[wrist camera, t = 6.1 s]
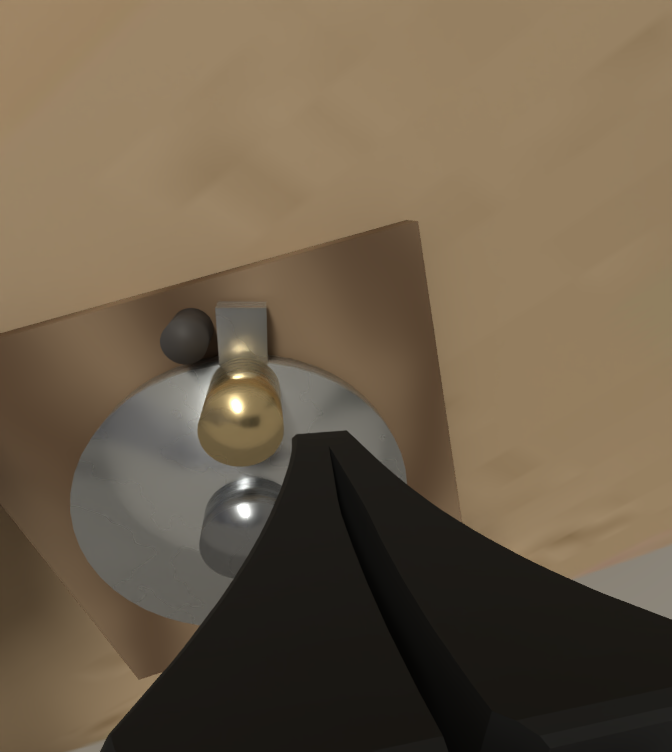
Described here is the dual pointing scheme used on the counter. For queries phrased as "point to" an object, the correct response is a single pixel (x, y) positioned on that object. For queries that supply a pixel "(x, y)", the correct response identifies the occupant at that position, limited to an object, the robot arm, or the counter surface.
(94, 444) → the flange plate
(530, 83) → the counter surface
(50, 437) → the walnut board
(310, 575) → the robot arm
